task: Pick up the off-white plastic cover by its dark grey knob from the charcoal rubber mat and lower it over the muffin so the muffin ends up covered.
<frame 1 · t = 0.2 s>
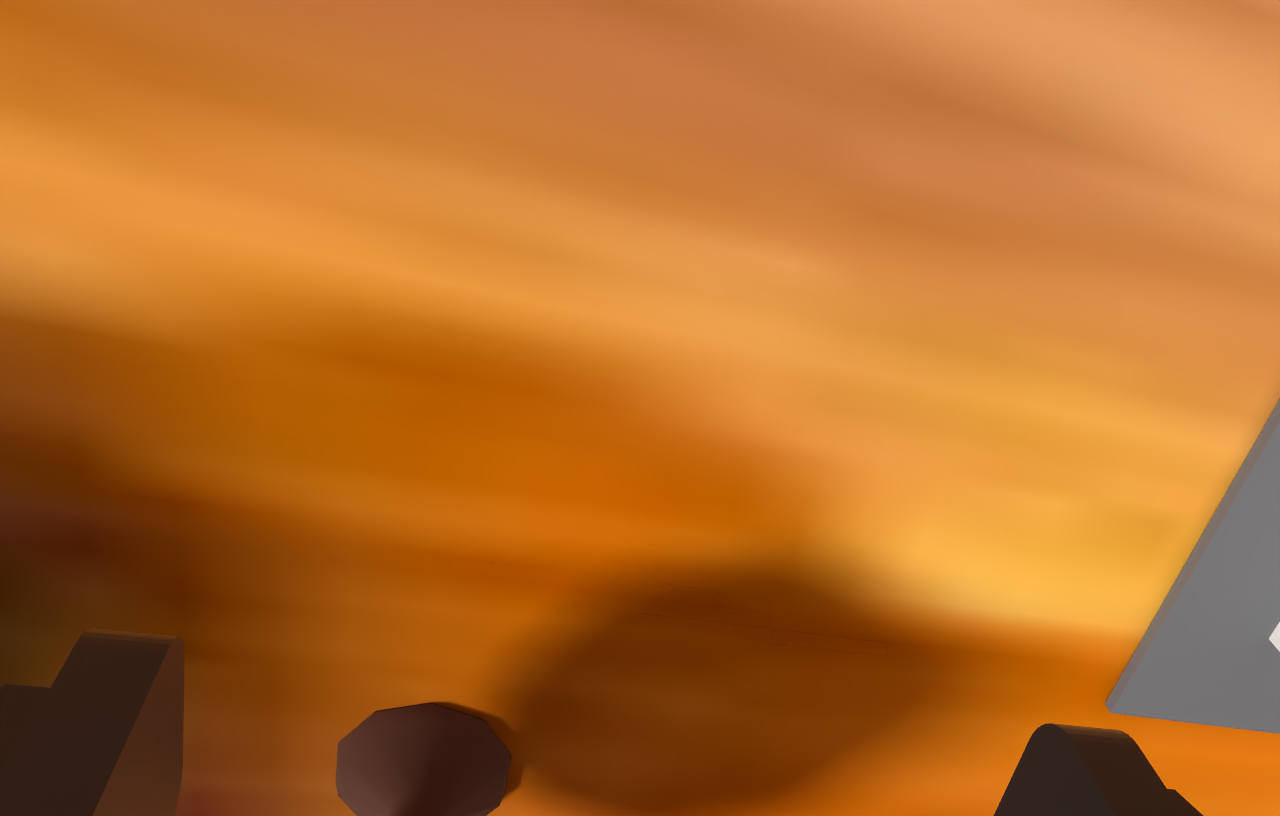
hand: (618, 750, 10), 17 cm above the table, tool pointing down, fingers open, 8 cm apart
ice cream bowl: (424, 763, 34), on the table
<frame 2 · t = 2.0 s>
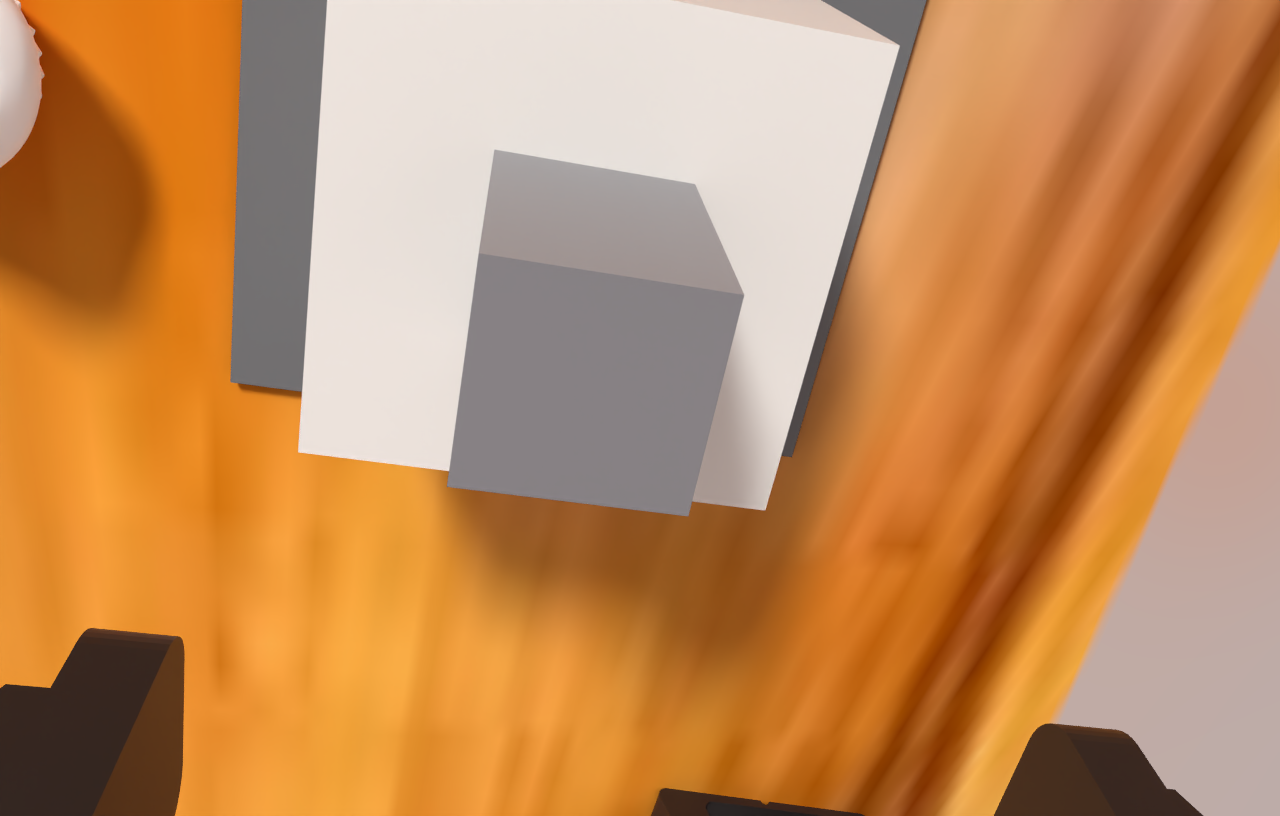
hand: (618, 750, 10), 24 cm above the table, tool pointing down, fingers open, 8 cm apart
cover: (576, 232, 24), on the mat
mat: (568, 140, 31), on the table
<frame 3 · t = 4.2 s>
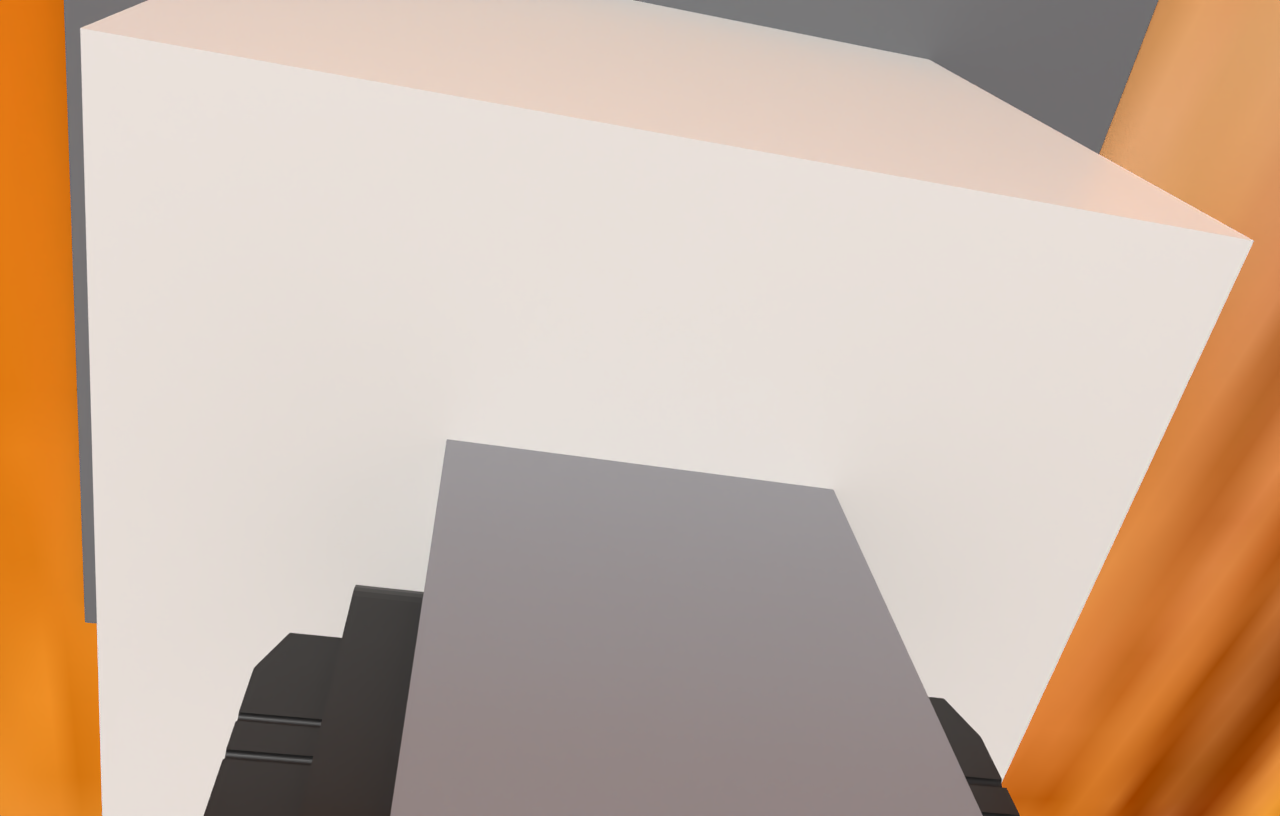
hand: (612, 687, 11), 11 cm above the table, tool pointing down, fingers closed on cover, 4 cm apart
cover: (600, 525, 14), on the mat, touching gripper
mat: (578, 285, 21), on the table
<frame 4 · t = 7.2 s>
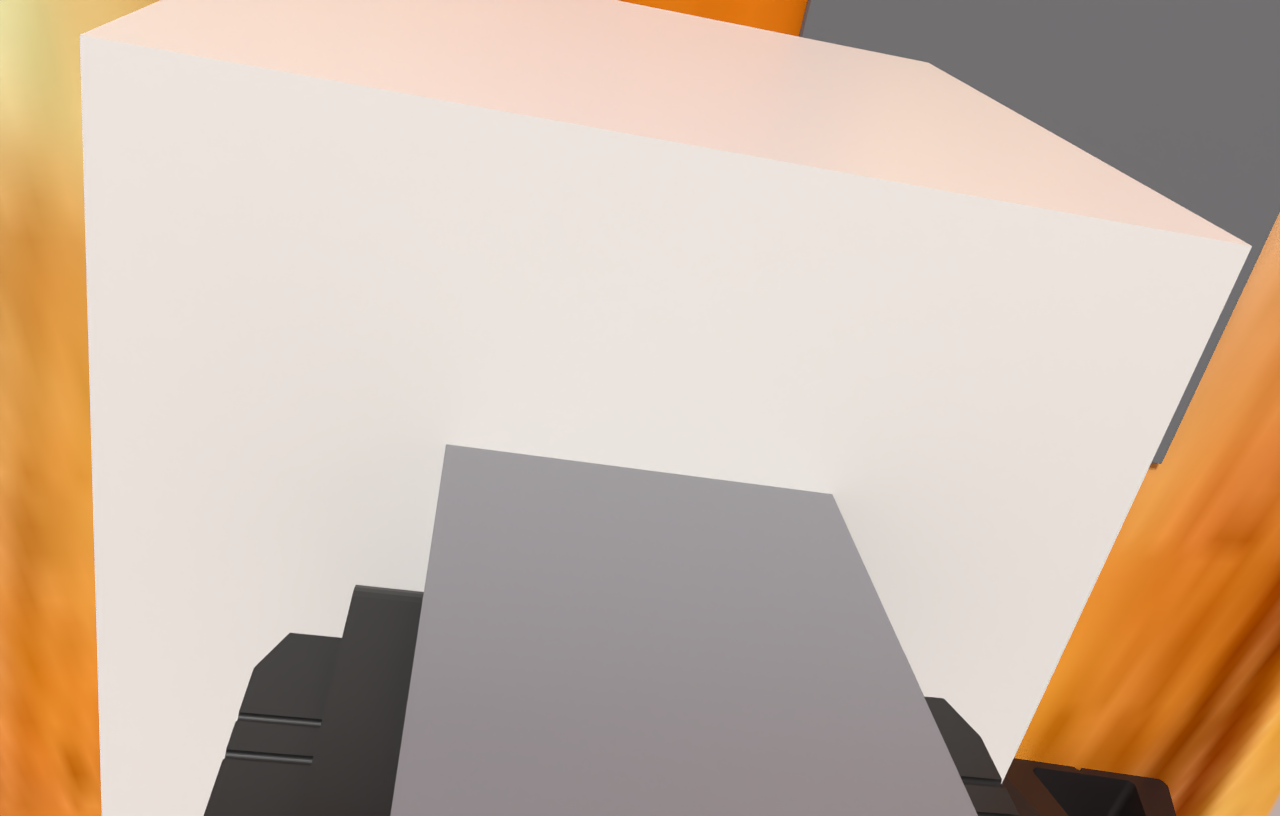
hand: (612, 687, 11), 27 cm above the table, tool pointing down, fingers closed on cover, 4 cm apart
phone stand: (1049, 810, 52), on the table
cover: (599, 529, 14), point 24 cm above the table, touching gripper
mat: (1023, 197, 37), on the table
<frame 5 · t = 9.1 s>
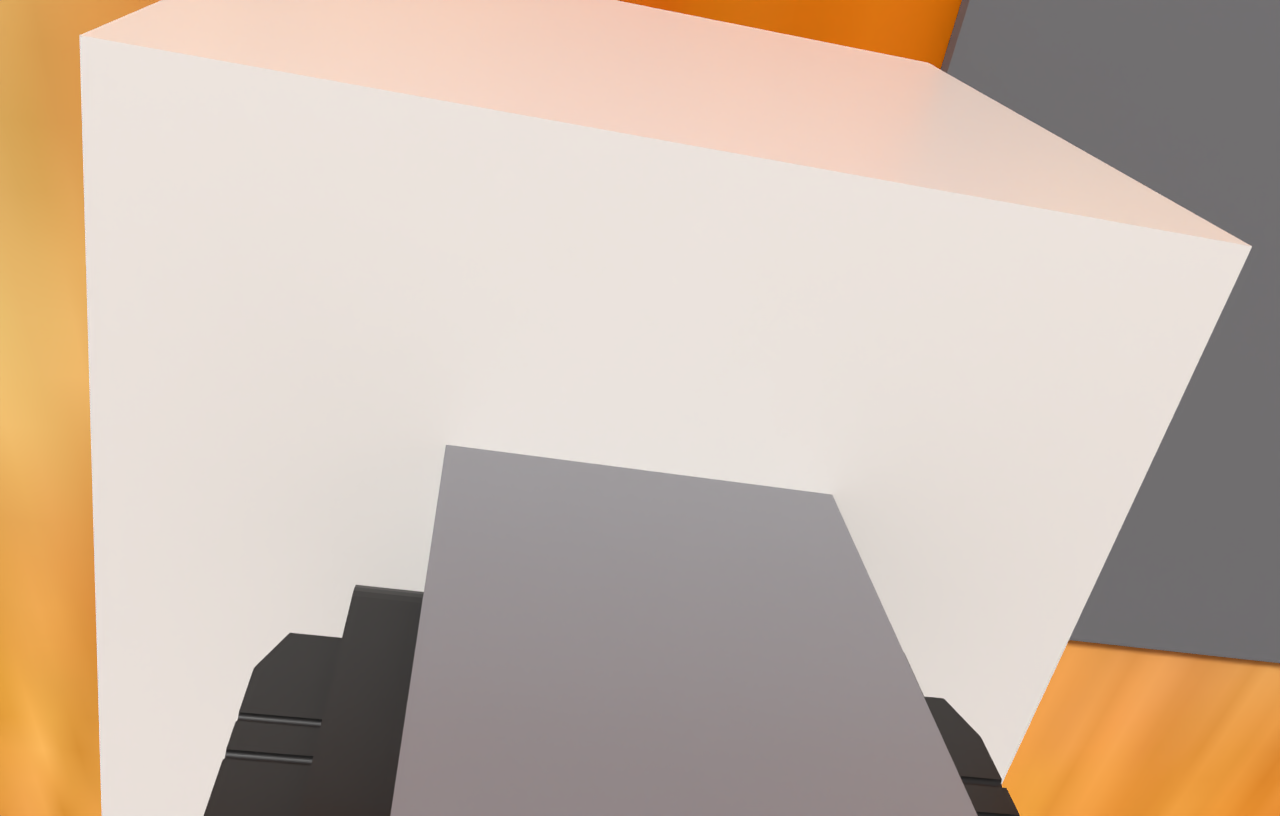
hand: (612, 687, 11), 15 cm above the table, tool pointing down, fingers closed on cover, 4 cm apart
cover: (599, 529, 14), point 12 cm above the table, touching gripper
mat: (1224, 340, 27), on the table
when the fingers open (12 cm above the table, at t = 10.5 s): cover drops 1 cm, on the table.
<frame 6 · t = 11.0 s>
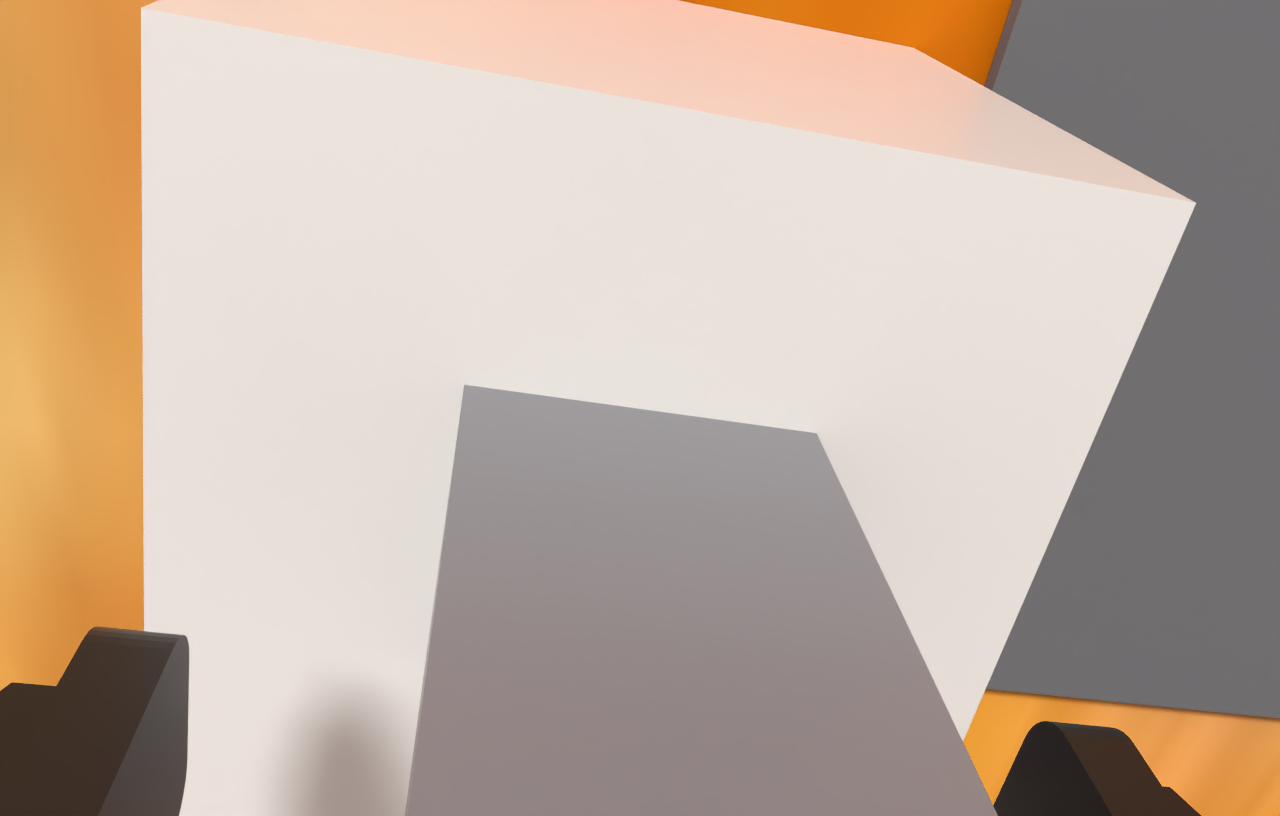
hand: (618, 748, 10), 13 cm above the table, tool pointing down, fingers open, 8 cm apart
cover: (603, 475, 15), on the table
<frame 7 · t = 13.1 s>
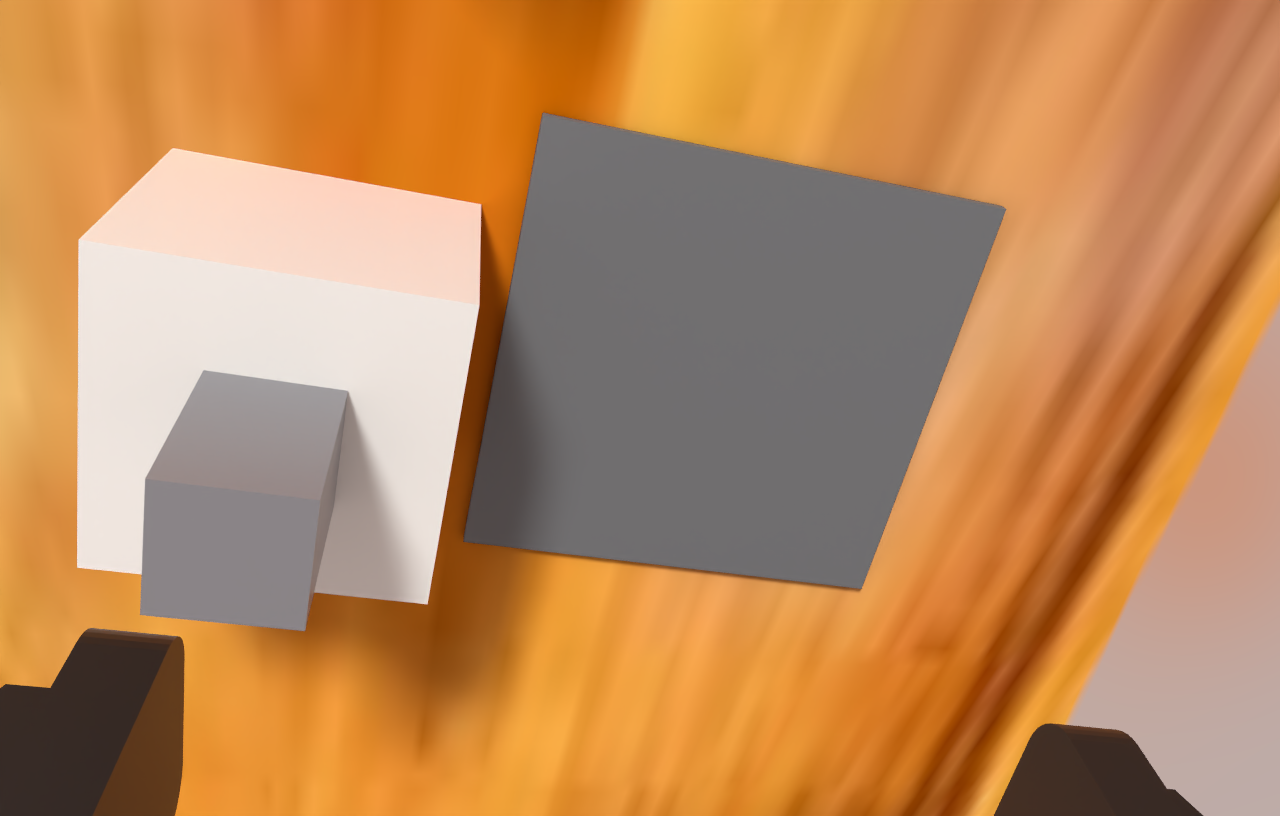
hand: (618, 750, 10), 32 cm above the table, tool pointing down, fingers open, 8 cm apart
cover: (281, 411, 34), on the table
mat: (721, 378, 44), on the table
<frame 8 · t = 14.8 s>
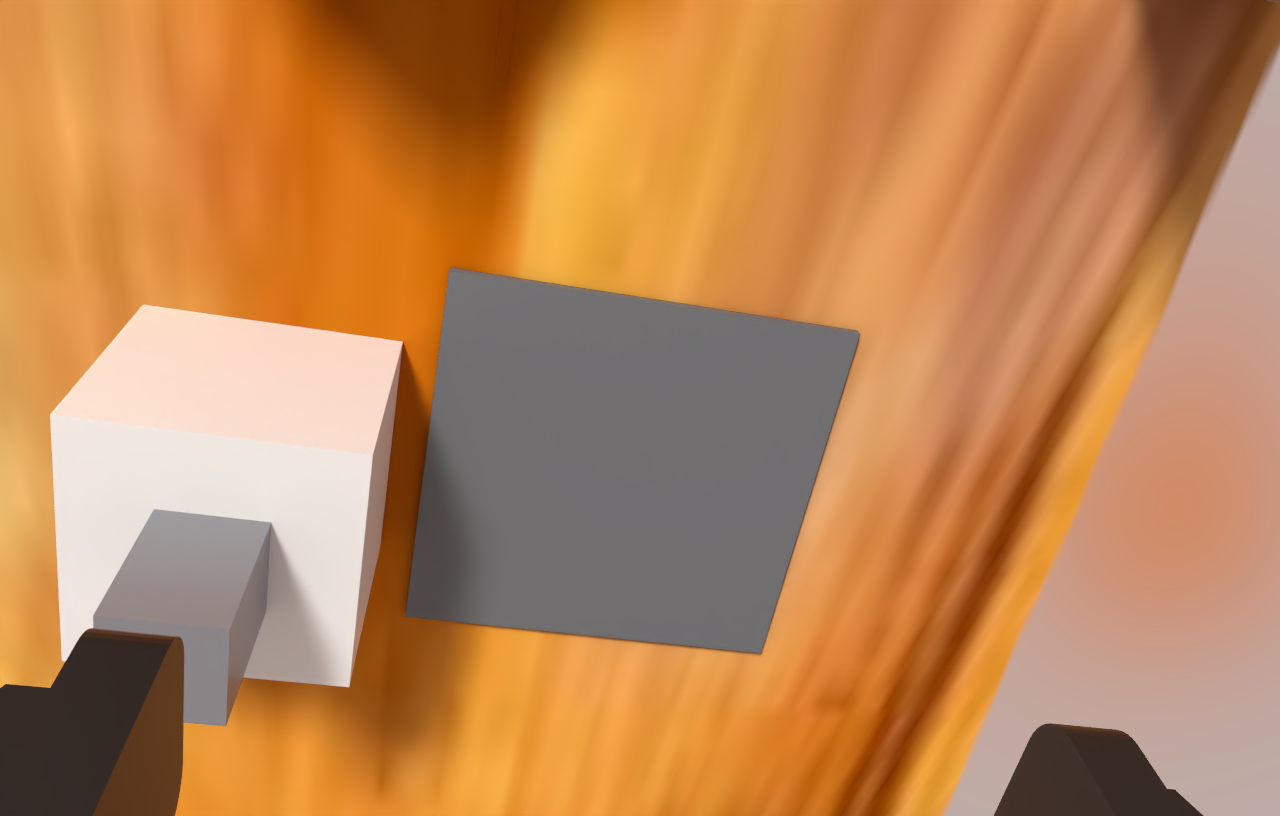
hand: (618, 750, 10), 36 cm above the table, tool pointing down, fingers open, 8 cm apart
cover: (224, 532, 41), on the table
mat: (621, 477, 51), on the table
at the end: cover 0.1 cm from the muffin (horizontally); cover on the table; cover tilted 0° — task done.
